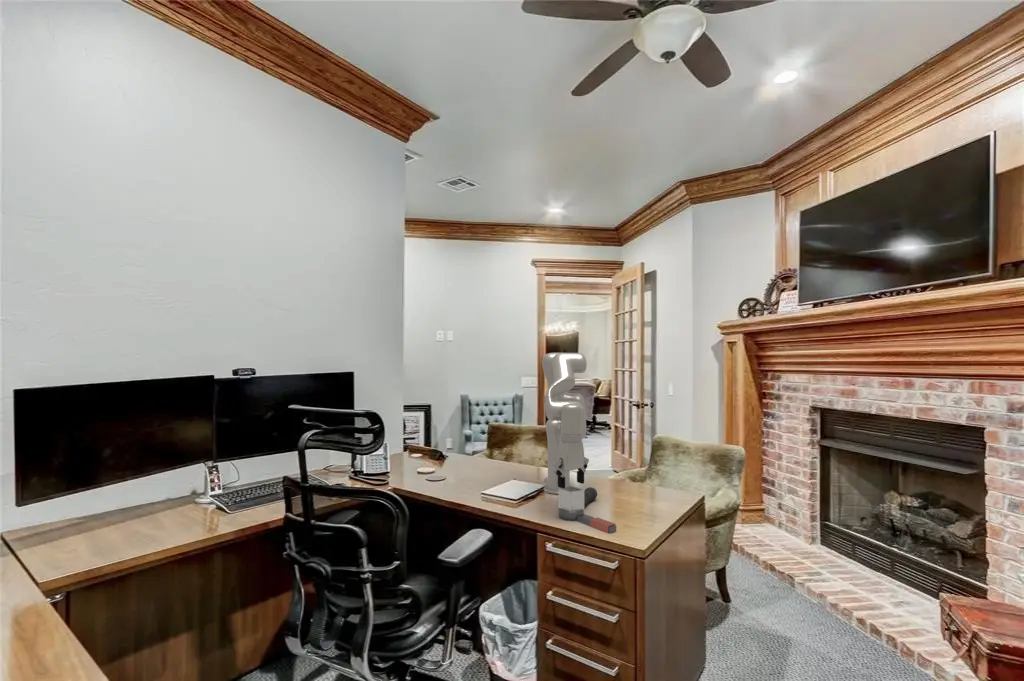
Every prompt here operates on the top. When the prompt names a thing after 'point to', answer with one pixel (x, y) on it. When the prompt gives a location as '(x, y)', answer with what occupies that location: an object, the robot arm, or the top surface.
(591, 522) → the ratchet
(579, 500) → the socket
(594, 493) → the flashlight
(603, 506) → the top surface
